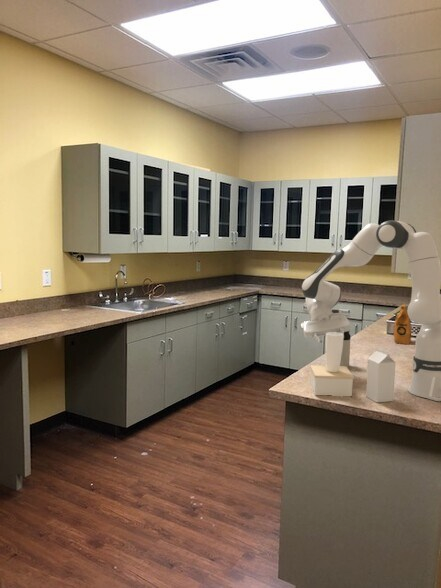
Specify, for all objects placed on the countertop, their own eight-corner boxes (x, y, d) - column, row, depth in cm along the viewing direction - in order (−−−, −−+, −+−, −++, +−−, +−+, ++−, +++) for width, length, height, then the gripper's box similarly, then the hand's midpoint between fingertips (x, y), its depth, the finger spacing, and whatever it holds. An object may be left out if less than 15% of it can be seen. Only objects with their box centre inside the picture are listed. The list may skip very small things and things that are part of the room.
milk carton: (376, 403, 172) (379, 352, 169) (365, 396, 178) (368, 348, 176) (393, 401, 174) (396, 351, 171) (382, 395, 180) (384, 347, 178)
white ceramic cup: (338, 368, 188) (341, 332, 186) (343, 373, 181) (345, 335, 179) (322, 368, 187) (324, 331, 186) (326, 373, 181) (328, 335, 179)
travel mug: (349, 368, 217) (351, 330, 215) (332, 367, 219) (333, 329, 217) (348, 363, 225) (350, 327, 223) (331, 362, 227) (333, 326, 224)
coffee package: (391, 343, 271) (393, 306, 268) (393, 339, 282) (395, 303, 280) (409, 345, 267) (412, 307, 264) (411, 341, 278) (413, 304, 275)
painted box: (345, 385, 192) (346, 366, 191) (352, 397, 178) (353, 376, 177) (309, 383, 193) (310, 365, 192) (314, 395, 179) (315, 375, 178)
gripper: (298, 317, 206) (307, 338, 195) (344, 309, 206) (355, 329, 195) (299, 327, 209) (307, 349, 198) (344, 319, 210) (354, 340, 199)
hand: (331, 339), depth 197 cm, fingers open, 8 cm apart
